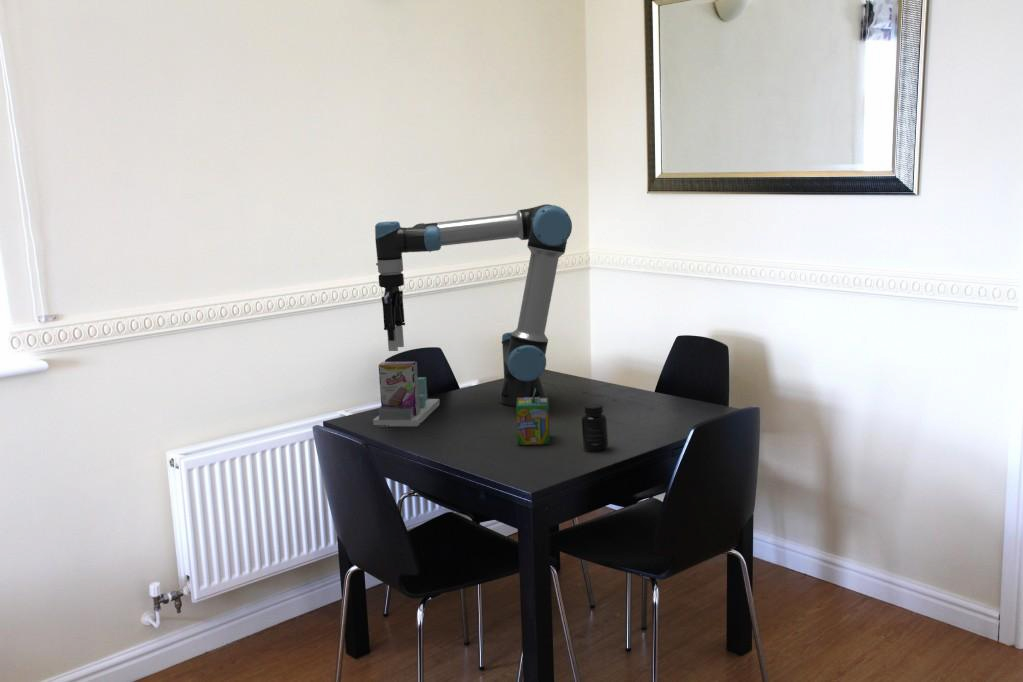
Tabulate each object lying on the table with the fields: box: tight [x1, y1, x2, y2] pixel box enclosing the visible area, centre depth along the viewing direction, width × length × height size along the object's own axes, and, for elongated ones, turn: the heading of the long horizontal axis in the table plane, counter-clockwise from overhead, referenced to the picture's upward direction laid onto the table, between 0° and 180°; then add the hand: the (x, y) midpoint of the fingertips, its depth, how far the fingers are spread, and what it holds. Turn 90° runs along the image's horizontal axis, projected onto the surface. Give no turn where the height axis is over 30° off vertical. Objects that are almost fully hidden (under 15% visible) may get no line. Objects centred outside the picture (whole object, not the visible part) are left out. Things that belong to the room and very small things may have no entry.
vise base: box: [372, 398, 441, 427], centre depth 295 cm, size 26×14×6 cm, turn 169°
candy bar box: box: [378, 361, 420, 416], centre depth 287 cm, size 11×5×16 cm, turn 82°
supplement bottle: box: [581, 403, 609, 453], centre depth 250 cm, size 7×7×12 cm
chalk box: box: [515, 388, 551, 446], centre depth 260 cm, size 9×9×15 cm
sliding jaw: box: [418, 376, 428, 407], centre depth 301 cm, size 12×10×7 cm
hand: (396, 348), depth 285 cm, fingers open, 5 cm apart
